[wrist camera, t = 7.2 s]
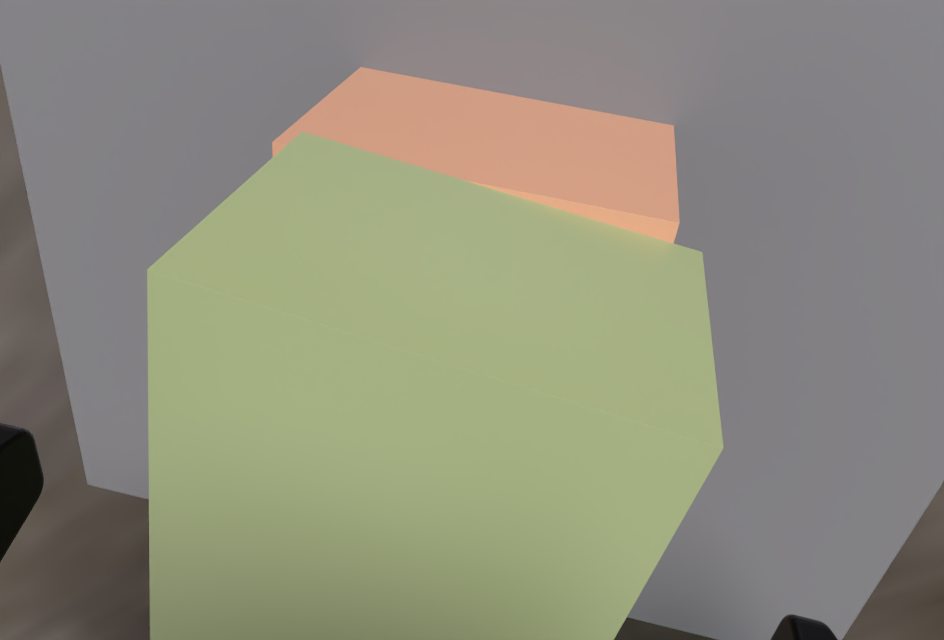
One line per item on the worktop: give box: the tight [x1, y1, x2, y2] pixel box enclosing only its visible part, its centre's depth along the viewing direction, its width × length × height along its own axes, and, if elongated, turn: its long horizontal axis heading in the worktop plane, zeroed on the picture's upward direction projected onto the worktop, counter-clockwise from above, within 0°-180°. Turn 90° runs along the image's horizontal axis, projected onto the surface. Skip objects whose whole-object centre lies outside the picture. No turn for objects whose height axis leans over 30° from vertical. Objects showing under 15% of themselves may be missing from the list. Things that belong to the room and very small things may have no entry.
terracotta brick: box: [272, 67, 680, 243], centre depth 13 cm, size 7×5×4 cm
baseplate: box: [0, 0, 944, 640], centre depth 15 cm, size 16×18×1 cm
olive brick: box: [147, 132, 723, 640], centre depth 10 cm, size 7×5×4 cm
